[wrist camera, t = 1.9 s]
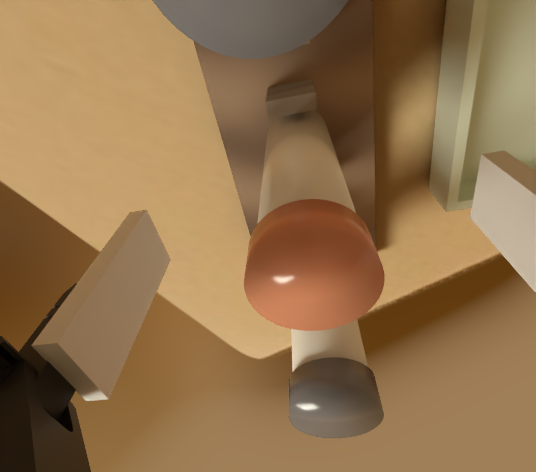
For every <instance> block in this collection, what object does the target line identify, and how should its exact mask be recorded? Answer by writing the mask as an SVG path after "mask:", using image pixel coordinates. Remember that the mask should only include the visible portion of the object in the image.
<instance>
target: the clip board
mask: <svg viewBox="0 0 536 472" xmlns="http://www.w3.org/2000/svg"><path fill="white" fill-rule="evenodd" d="M194 44H195V48H196V51H197V55H198V58H199V62H200V65H201V68H202V72H203V75H204V79H205V82H206V85H207V89H208V92H209V96H210V99H211V103H212V106H213V109H214V113H215V116H216V120H217V123H218V126H219V130H220V133H221V137H222V140H223V144H224V147H225V150H226V154H227V157H228V161H229V164H230V167H231V171H232V174H233V178H234V181H235V185H236V188H237V191H238V195H239V198H240V202H241V205H242V208H243V212H244V215H245V219H246V222H247V226H248V229H249V232H250V236H251V235H252V233H253V231H254V229H255V227H256V226H257V224H258V215H259V205H260V196H261V187H262V178H263V169H264V160H265V151H266V142H267V133H268V128H269V125H270V123H271V121H272V119H273V118H275V117H280V116H285V115H290V114H295V113H300V112H305V111H310V110H316V111H317V112H318V113H319V114H320V115H321V116H322V118H323V119H324V121H325V123H326V126H327V129H328V132H329V135H330V138H331V141H332V144H333V147H334V150H335V152H336V155H337V158H338V161H339V164H340V167H341V170H342V173H343V176H344V179H345V182H346V185H347V188H348V191H349V194H350V197H351V199H352V202H353V205H354V208H355V211H356V214H358V215H359V216H360V218H361V219H362V220H363V221H364V222H365V224H366V225H367V227H368V229H369V232H370V234H371V237H372V240H373V242H374V245H375V248H376V217H375V146H374V76H373V6H372V0H348V2H347V3H346V4H345V6H344V7H343V8H342V10H341V11H340V12H339V14H338V15H337V16H336V17H335V18H334V19H333V20H332V21H331V22H330V24H329V25H328V26H327V27H326V28H324V29H323V30H322V31H321V32H320V33H319V34H317V35H316V36H315V37H314V38H312V39H311V40H309V41H308V42H306V43H305V44H303V45H301V46H300V47H298V48H295V49H293V50H291V51H289V52H287V53H284V54H280V55H277V56H274V57H268V58H261V59H242V58H235V57H230V56H226V55H223V54H220V53H216V52H214V51H212V50H210V49H207V48H205V47H203V46H201V45H200V44H198V43H197V42H195V41H194Z"/></svg>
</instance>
